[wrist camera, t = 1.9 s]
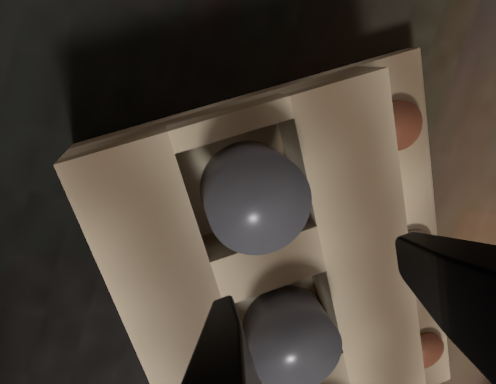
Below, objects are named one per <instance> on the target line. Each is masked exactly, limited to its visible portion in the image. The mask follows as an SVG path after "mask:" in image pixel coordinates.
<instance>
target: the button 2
mask: <svg viewBox="0 0 496 384" xmlns="http://www.w3.org/2000/svg"><path fill="white" fill-rule="evenodd" d="M200 197H201V201H202V204H203V207H204V210H205V213H206V215H207V218H208V221H209V224H210V226H211V229H212V231H213V233H214V234H215V236H216V237H217V238H218V240H219V241H220V242H221V243H222V244H224V245H225V246H226V247H228V248H229V249H231V250H233V251H235V252H238V253H241V254H245V255H264V254H269V253H272V252H275V251H277V250H280V249H281V248H283V247H285V246H286V245H288V244H289V243H291V242H292V241H293V240H294V239H295V238H296V237H297V236H298V235H299V234H300V232H301V231H302V229H303V228H304V226H305V224H306V223H307V220H308V218H309V215H310V211H311V205H312V195H311V189H310V185H309V183H308V180H307V178H306V177H305V175H304V173H303V172H302V171H301V170H300V168H299V167H298V166H296V165H295V164H294V163H293V162H292V161H290V160H289V159H287V158H286V157H285V156H283V155H282V154H281V153H279V152H278V151H277V150H275V149H274V148H272V147H271V146H269V145H267V144H264V143H261V142H257V141H240V142H236V143H233V144H230V145H228V146H226V147H224V148H222V149H221V150H220V151H218V152H217V153H216V154H215V155H214V156H213V157H212V158H211V159H210V160H209V162H208V163H207V165H206V166H205V168H204V171H203V173H202V176H201V181H200Z"/></svg>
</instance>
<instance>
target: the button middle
mask: <svg viewBox="0 0 496 384" xmlns="http://www.w3.org/2000/svg"><path fill="white" fill-rule="evenodd" d="M243 329H244V333H245V336H246V339H247V342H248V345H249V349H250V352H251V355H252V358H253V362H254V365H255V368H256V371H257V374H258V378H259V379H260V381H261V382H262V383H263V384H319V383H321V382H322V381H323V380H325V379H326V378H327V377H328V376H329V375H330V374H331V373H332V371H333V370H334V369H335V367H336V366H337V364H338V362H339V360H340V357H341V353H342V338H341V335H340V333H339V331H338V329H337V328H336V326H335V325H334V323H333V322H332V321H331V319H330V318H329V316H328V315H327V313H326V312H325V310H324V309H323V307H322V306H321V305H320V303H319V302H318V300H317V299H316V297H315V296H314V295H313V294H312V293H311V292H309V291H308V290H306V289H304V288H302V287H299V286H293V285H286V286H283V287H280V288H277V289H274V290H271V291H269V292H266V293H263V294H261V295H260V296H258V297H257V298H256V299H255V300H254V301H253V302H252V303H251V305H250V306H249V308H248V309H247V311H246V313H245V316H244V319H243Z"/></svg>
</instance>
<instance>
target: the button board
mask: <svg viewBox="0 0 496 384" xmlns="http://www.w3.org/2000/svg"><path fill="white" fill-rule="evenodd" d="M240 141H257V142H261V143H264V144H267V145H269V146H271V147H272V148H274V149H275V150H277V151H278V152H279V153H281V154H282V155H283V156H285V157H286V158H287V159H289V160H290V161H292V162H293V163H294V164H295V165H296V166H298V167H299V168H300V170H301V171H302V172H303V173H304V175H305V177H306V178H307V180H308V183H309V185H310V189H311V195H312V205H311V211H310V215H309V218H308V220H307V223H306V224H305V226H304V228H303V229H302V231H301V232H300V234H299V235H298V236H297V237H296V238H295V239H294V240H293V241H292V242H291V243H289V244H288V245H286V246H285V247H283V248H281V249H280V250H277V251H275V252H272V253H269V254H264V255H245V254H241V253H238V252H235V251H233V250H231V249H229V248H228V247H226V246H225V245H224V244H222V243H221V242H220V241H219V240H218V238H217V237H216V236H215V234H214V233H213V231H212V229H211V226H210V224H209V221H208V218H207V215H206V213H205V210H204V207H203V204H202V201H201V197H200V181H201V176H202V173H203V171H204V168H205V166H206V165H207V163H208V162H209V160H210V159H211V158H212V157H213V156H214V155H215V154H216V153H217V152H218V151H220V150H221V149H222V148H224V147H226V146H228V145H230V144H233V143H236V142H240ZM54 167H55V170H56V172H57V174H58V177H59V179H60V181H61V183H62V186H63V188H64V190H65V192H66V195H67V197H68V199H69V201H70V204H71V206H72V208H73V211H74V213H75V215H76V217H77V220H78V222H79V224H80V226H81V229H82V231H83V233H84V235H85V238H86V240H87V242H88V245H89V247H90V249H91V251H92V254H93V256H94V258H95V260H96V263H97V265H98V267H99V269H100V272H101V274H102V276H103V279H104V281H105V283H106V285H107V288H108V290H109V292H110V294H111V297H112V299H113V301H114V303H115V306H116V308H117V310H118V313H119V315H120V317H121V319H122V322H123V324H124V326H125V328H126V331H127V333H128V335H129V337H130V340H131V342H132V344H133V347H134V349H135V351H136V353H137V356H138V358H139V360H140V362H141V365H142V367H143V369H144V371H145V374H146V376H147V378H148V381H149V383H150V384H181V382H182V380H183V377H184V375H185V372H186V369H187V367H188V364H189V362H190V359H191V357H192V354H193V352H194V349H195V346H196V344H197V341H198V339H199V336H200V334H201V331H202V329H203V326H204V323H205V321H206V318H207V316H208V313H209V311H210V308H211V305H212V303H213V301H214V300H217V299H220V298H223V297H225V296H229V295H230V296H232V297H233V300H234V303H235V306H236V308H237V311H238V314H239V317H240V320H241V323H242V326H243V319H244V316H245V313H246V311H247V309H248V308H249V306H250V305H251V303H252V302H253V301H254V300H255V299H256V298H257V297H258V296H260V295H261V294H263V293H266V292H269V291H271V290H274V289H277V288H280V287H283V286H286V285H293V286H299V287H302V288H304V289H306V290H308V291H309V292H311V293H312V294H313V295H314V296H315V297H316V299H317V300H318V302H319V303H320V305H321V306H322V307H323V309H324V310H325V312H326V313H327V315H328V316H329V318H330V319H331V321H332V322H333V323H334V325H335V326H336V328H337V329H338V331H339V333H340V335H341V338H342V353H341V357H340V360H339V362H338V364H337V366H336V367H335V369H334V370H333V371H332V373H331V374H330V375H329V376H328V377H327V378H326V379H325V380H323V381H322V382H321V383H319V384H440V383H442V382H445V381H447V380H450V369H449V358H448V347H447V336H446V334H445V333H444V332H443V331H442V330H441V328H440V327H439V326H438V325H437V323H436V322H435V321H434V319H433V318H432V317H431V316H430V314H429V313H428V312H427V310H426V309H425V308H424V306H423V305H422V304H421V302H420V301H419V300H418V298H417V297H416V296H415V294H414V293H413V292H412V290H411V289H410V288H409V286H408V285H407V284H406V283H405V281H404V280H403V278H402V277H401V275H400V273H399V269H398V262H397V255H396V247H395V240H396V238H397V237H398V236H401V235H404V234H407V233H409V232H419V233H425V234H431V235H437V226H436V215H435V204H434V193H433V182H432V171H431V160H430V149H429V138H428V127H427V116H426V105H425V94H424V84H423V73H422V62H421V51H420V48H405V49H402V50H398V51H395V52H391V53H388V54H384V55H381V56H377V57H374V58H371V59H367V60H364V61H360V62H357V63H353V64H350V65H346V66H343V67H339V68H336V69H332V70H329V71H325V72H322V73H318V74H315V75H311V76H308V77H304V78H301V79H297V80H294V81H290V82H287V83H283V84H280V85H276V86H273V87H269V88H266V89H262V90H259V91H256V92H252V93H249V94H245V95H242V96H238V97H235V98H231V99H228V100H224V101H221V102H217V103H214V104H210V105H207V106H203V107H200V108H196V109H193V110H189V111H186V112H182V113H179V114H175V115H172V116H168V117H165V118H161V119H158V120H154V121H151V122H147V123H144V124H141V125H137V126H134V127H130V128H127V129H123V130H120V131H116V132H113V133H109V134H106V135H102V136H99V137H95V138H92V139H88V140H85V141H81V142H78V143H74V144H72V145H71V146H70V147H69V149H68V150H67V151H66V152H65V153H64V154H63V155H62V156H61V157H60V158H59V159H58V160H57V161H56V163H55V164H54ZM259 381H260V379H259ZM260 384H263V383H262V382H261V381H260Z"/></svg>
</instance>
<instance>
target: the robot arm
mask: <svg viewBox="0 0 496 384" xmlns="http://www.w3.org/2000/svg"><path fill="white" fill-rule="evenodd" d="M395 247H396V255H397V262H398V269H399V273H400V275H401V277H402V278H403V280H404V281H405V283H406V284H407V285H408V286H409V288H410V289H411V290H412V292H413V293H414V294H415V296H416V297H417V298H418V300H419V301H420V302H421V304H422V305H423V306H424V308H425V309H426V310H427V312H428V313H429V314H430V316H431V317H432V318H433V319H434V321H435V322H436V323H437V325H438V326H439V327H440V328H441V330H442V331H443V332H444V333H445V334H446V335H447V336H448V337H449V339H450V340H451V341H452V342H453V343H454V344H455V345H456V346H457V347H458V348H459V349H460V350H461V351H462V352H463V354H464V355H465V356H466V357H467V358H468V359H469V360H470V361H471V362H472V363H473V364H474V365H475V366H476V367H477V368H478V369H479V371H480V372H481V373H482V374H483V375H484V376H485V377H486V378H487V379H488V380H489V381H490V382H491V383H492V384H496V245H491V244H485V243H479V242H473V241H467V240H461V239H455V238H449V237H443V236H437V235H431V234H425V233H419V232H409V233H407V234H404V235H401V236H398V237H397V238H396V240H395ZM181 384H260V381H259V378H258V374H257V371H256V368H255V365H254V362H253V358H252V355H251V352H250V349H249V345H248V342H247V339H246V336H245V333H244V329H243V326H242V323H241V320H240V317H239V314H238V311H237V308H236V306H235V303H234V300H233V297H232V296H230V295H229V296H225V297H223V298H220V299H217V300H214V301H213V303H212V305H211V308H210V311H209V313H208V316H207V318H206V321H205V323H204V326H203V329H202V331H201V334H200V336H199V339H198V341H197V344H196V346H195V349H194V352H193V354H192V357H191V359H190V362H189V364H188V367H187V369H186V372H185V375H184V377H183V380H182V382H181Z"/></svg>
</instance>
